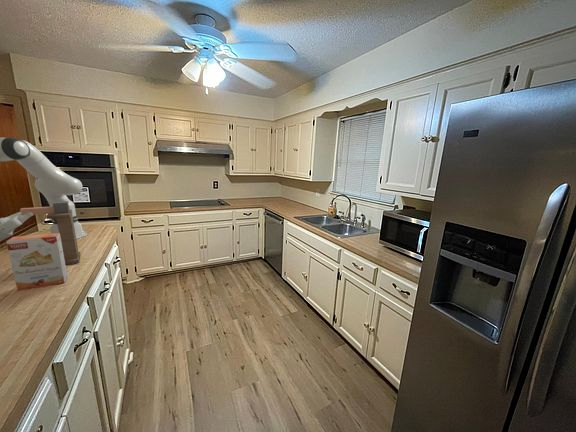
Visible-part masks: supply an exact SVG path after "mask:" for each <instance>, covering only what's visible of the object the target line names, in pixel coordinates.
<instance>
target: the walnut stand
mask: <svg viewBox="0 0 576 432" xmlns="http://www.w3.org/2000/svg"><path fill="white" fill-rule="evenodd" d="M45 218H46V220H52V219H55V218H56V219H57V224H58V230H59V233H60V237H61V243H62V248H63V254H64V259H65V265H66V266H71V265H75V264H80V262H81V256H82V254H81V251H79V246H78V242H77V241H78V240H77V239H76V234H75V228H74V222H73V216H72V210H70V212H69V213H61V214H45Z"/></svg>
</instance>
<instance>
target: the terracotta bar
mask: <svg viewBox="0 0 576 432" xmlns="http://www.w3.org/2000/svg"><path fill="white" fill-rule="evenodd" d="M19 212H21V216H23V215H25V214H27V213H29V212H32V213H33V214H34V215H33V216H39V215H47V214H61V213H69V212H70V208H69V203H68V201H61V202H54V203H53V206H51V207H50V206H40V207H39V206H38V207H36V206H35V207H21V208H20V209H19Z"/></svg>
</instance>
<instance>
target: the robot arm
mask: <svg viewBox="0 0 576 432" xmlns="http://www.w3.org/2000/svg"><path fill="white" fill-rule="evenodd" d="M10 161H16V162H17V163H18V164H19V165H20V166H22V167H23V168H24V169H25V170H26V172H28V173H29V174H30V175H31V176H33V177H34V178H37V179H35V182H34V187H35V189H36V190H37V191H38V192H40V193H41V194H42V196H44V198H45V199H46V201H47V203H48V205H49V207H51V206H53V203H54V202H61V201H68V203H69V208H70V210H72V216H73V222H74V228H75V234H76V240H77V239H80V238H84V237H87V236H88V234H87V233H86V231H85V230H84V228H83V226H82V224H81V223H80V222H79V218H78V215H77V213H76V212H77V211H76V206H75V205H76V204H75V203H74V202H73V201H72V200H70V199H69V197H68V196H73V195H79V194H81V193H82V190H83V187H84V186H83V184H82V181H80V180H79V179H78V178H76V177H73V176H71V175H69V174H67V173H65V172H64V171H63V170H62V169H59V168H58V167H57V166H56V165H54V164H53V163H52V162H51V161H50V159H48V157H47V156H46V155H44V153H42V152H41V151H40V150H39V149H38V148H36V147H35V146H34V145H33V144H31V143H30V142H28V141H27V140H24V139H20V138H18V137H17V138H16V137H9V136H8V137H0V162H10ZM33 216H35V215H34V214H33V213H32V212H29V213H27V214H25V215H23V216H21V212H20V211H19V212H16V213H13V214H11V215H9V216H6V217H0V242H1V241H4V240H5V239H7V238H9V237H10V236H13V235H14V231H15V230H16V229H17V228H18V227H20V226H21V225H23V224H24V223H25V221H27V220H28V219H29V218H31V217H33ZM51 222H52V224H51V226H49V229H50V234H54V233H59V230H58V224H57V219H56V218H55V219H51Z"/></svg>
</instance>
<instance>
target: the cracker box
mask: <svg viewBox="0 0 576 432" xmlns="http://www.w3.org/2000/svg"><path fill="white" fill-rule="evenodd" d="M5 242H6V246H7V251H8V254H9V260H10V264H11V268H12V273H13V277H14V282H15V285H16V290H17V292H21V291H26V290H32V289H39V288H44V287H50V286H56V285H57V286H58V285H61V284H63V283H64V284H65V283H66V281H67V280H68V278H69V277H68V272H67V267H66V266H67V265H65V259H64V254H63V248H62V243H61V237H60V233H54V234H51V233H43V234H34V235H33V234H32V235H20V236H12V237H11V238H9V239H7V240H6V241H5Z"/></svg>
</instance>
